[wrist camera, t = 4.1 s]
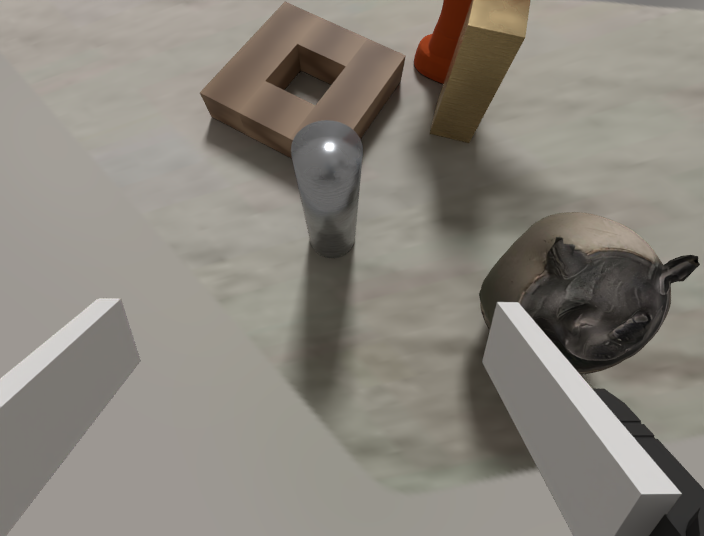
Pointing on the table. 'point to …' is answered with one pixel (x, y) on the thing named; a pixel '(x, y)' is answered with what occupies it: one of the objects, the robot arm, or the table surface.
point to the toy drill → (442, 41)
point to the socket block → (282, 67)
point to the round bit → (328, 183)
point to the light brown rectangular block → (479, 65)
